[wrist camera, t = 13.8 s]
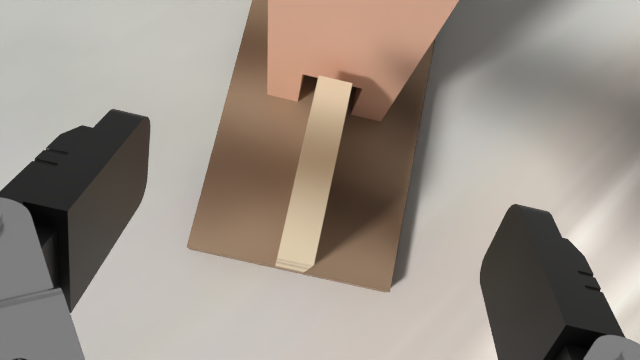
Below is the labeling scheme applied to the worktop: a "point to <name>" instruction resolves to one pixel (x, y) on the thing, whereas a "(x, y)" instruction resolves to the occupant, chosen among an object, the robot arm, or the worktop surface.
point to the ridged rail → (308, 173)
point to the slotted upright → (351, 46)
